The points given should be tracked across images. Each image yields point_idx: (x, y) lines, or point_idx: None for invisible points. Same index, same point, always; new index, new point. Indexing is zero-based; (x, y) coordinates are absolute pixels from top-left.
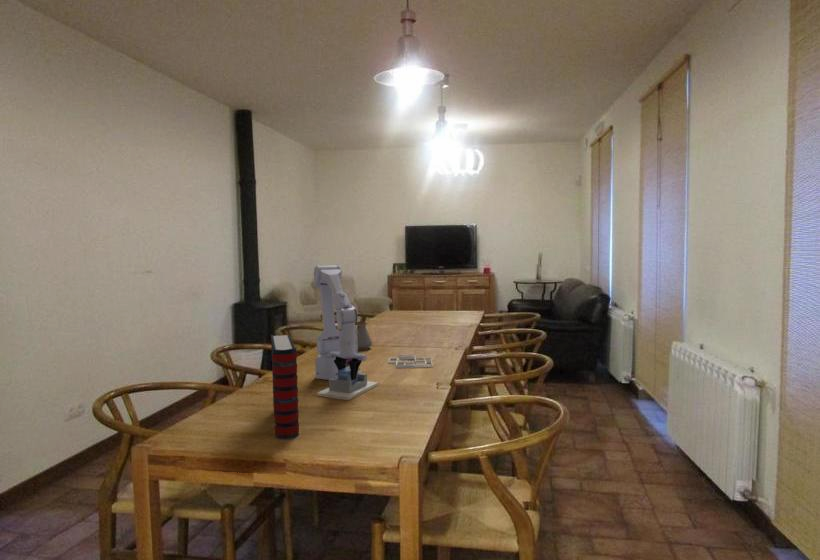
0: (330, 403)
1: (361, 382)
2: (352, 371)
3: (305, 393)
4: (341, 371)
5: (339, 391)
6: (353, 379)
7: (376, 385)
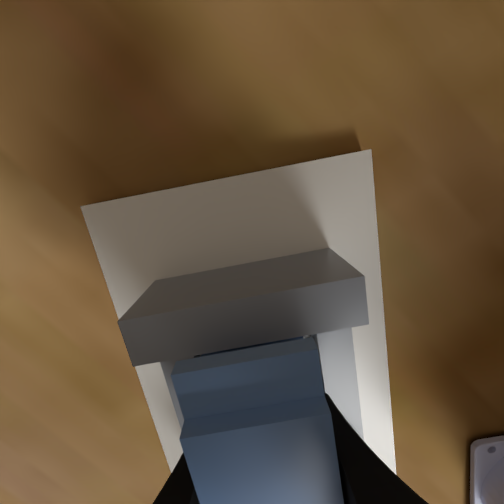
0: (139, 66)
1: None
2: (167, 491)
3: (479, 144)
4: (270, 421)
5: (237, 265)
6: None
7: None
